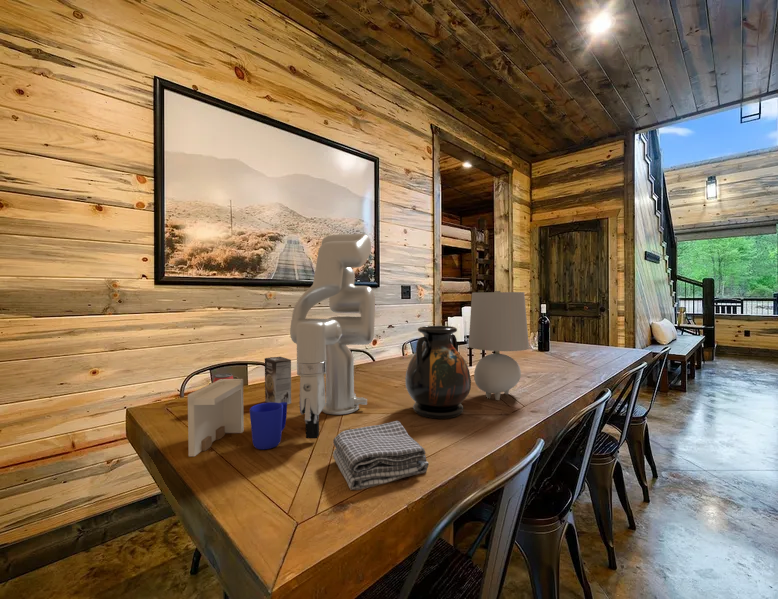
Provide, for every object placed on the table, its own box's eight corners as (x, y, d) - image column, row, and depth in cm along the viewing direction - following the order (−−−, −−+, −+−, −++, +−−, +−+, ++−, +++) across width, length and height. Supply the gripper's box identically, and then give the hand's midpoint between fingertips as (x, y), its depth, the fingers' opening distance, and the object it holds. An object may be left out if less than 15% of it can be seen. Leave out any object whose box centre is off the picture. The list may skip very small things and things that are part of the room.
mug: (298, 435, 97) (297, 399, 97) (270, 454, 85) (269, 413, 85) (273, 432, 99) (273, 397, 99) (242, 449, 88) (242, 410, 88)
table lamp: (490, 386, 147) (489, 291, 147) (541, 396, 131) (540, 290, 131) (457, 397, 132) (456, 291, 131) (510, 410, 116) (509, 290, 115)
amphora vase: (442, 429, 100) (441, 332, 100) (392, 411, 117) (391, 327, 116) (484, 412, 115) (484, 327, 114) (435, 398, 131) (434, 323, 131)
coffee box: (264, 401, 129) (263, 358, 128) (280, 398, 133) (280, 355, 133) (275, 407, 122) (274, 361, 122) (292, 403, 126) (291, 358, 126)
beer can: (238, 407, 123) (237, 373, 122) (227, 413, 116) (227, 377, 116) (220, 406, 123) (220, 372, 123) (209, 412, 117) (208, 377, 117)
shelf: (243, 430, 100) (242, 378, 100) (215, 456, 84) (214, 394, 84) (221, 430, 100) (220, 379, 100) (188, 456, 84) (187, 394, 84)
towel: (331, 462, 81) (330, 429, 81) (401, 448, 89) (401, 417, 89) (350, 496, 67) (349, 456, 67) (432, 476, 75) (432, 439, 75)
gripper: (319, 374, 84) (320, 449, 85) (330, 362, 99) (331, 426, 100) (289, 374, 85) (289, 449, 85) (304, 362, 99) (305, 426, 100)
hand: (312, 437), depth 92 cm, fingers closed
